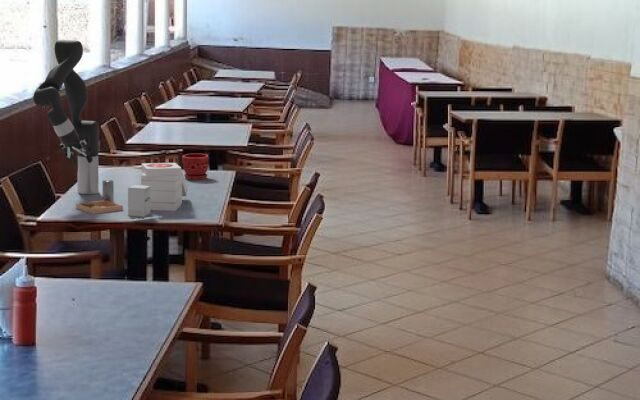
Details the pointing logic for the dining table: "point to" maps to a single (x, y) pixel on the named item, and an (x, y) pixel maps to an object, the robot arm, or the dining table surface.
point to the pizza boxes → (164, 185)
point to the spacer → (108, 190)
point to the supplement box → (139, 200)
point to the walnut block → (88, 204)
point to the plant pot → (195, 166)
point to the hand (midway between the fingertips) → (83, 162)
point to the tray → (105, 207)
